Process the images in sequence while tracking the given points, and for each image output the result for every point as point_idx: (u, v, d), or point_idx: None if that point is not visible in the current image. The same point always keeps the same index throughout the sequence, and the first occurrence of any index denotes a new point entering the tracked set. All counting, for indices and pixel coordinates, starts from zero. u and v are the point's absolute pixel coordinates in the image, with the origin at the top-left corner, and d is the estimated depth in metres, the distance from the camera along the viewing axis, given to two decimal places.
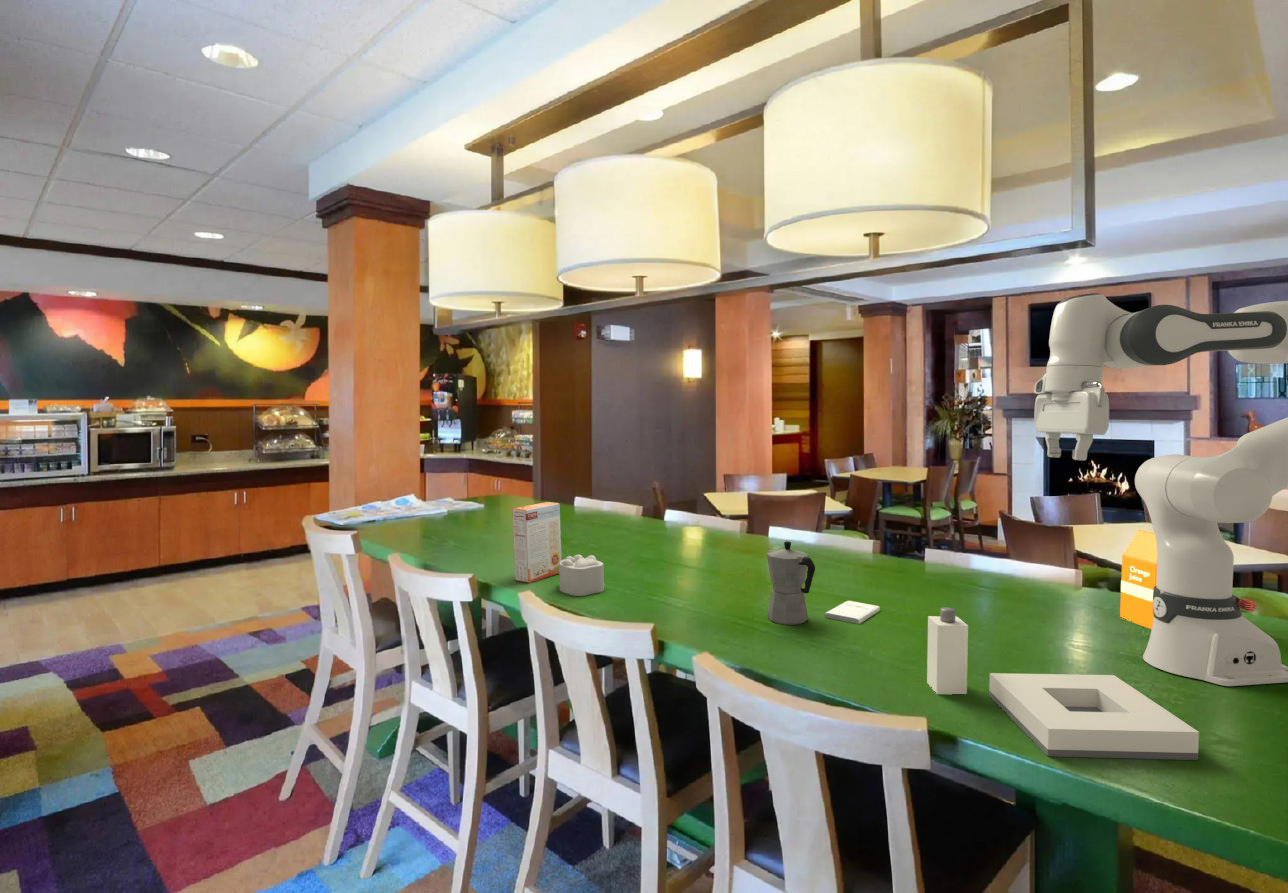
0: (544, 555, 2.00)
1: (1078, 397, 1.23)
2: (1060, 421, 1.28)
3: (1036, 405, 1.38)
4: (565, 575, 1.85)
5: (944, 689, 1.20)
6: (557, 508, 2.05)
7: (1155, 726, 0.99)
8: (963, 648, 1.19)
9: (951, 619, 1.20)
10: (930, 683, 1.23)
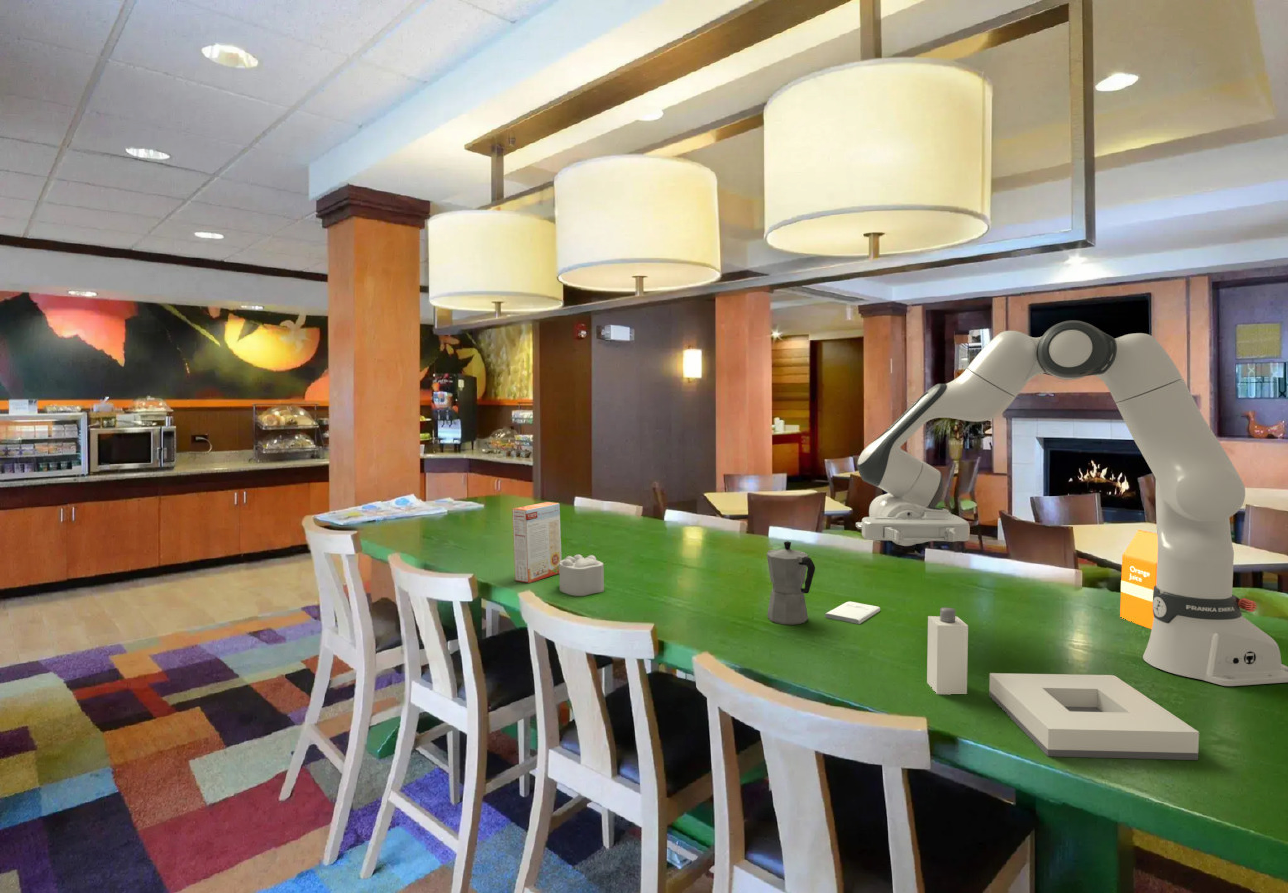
0: (544, 555, 2.00)
1: None
2: None
3: None
4: (565, 575, 1.85)
5: (944, 689, 1.20)
6: (557, 508, 2.05)
7: (1155, 726, 0.99)
8: (963, 648, 1.19)
9: (952, 619, 1.20)
10: (930, 683, 1.23)
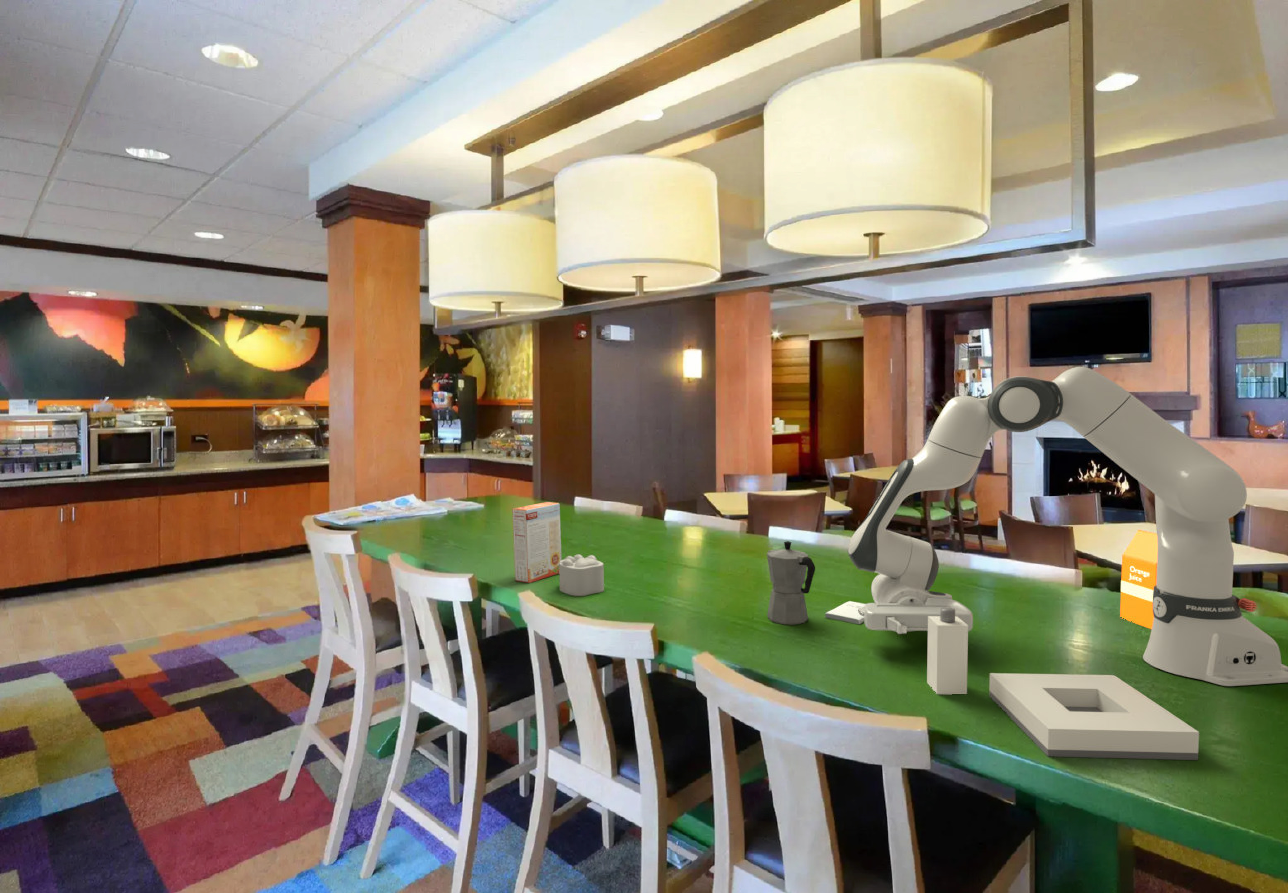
0: (544, 555, 2.00)
1: None
2: None
3: None
4: (565, 574, 1.85)
5: (944, 689, 1.20)
6: (557, 508, 2.05)
7: (1155, 726, 0.99)
8: (963, 648, 1.19)
9: (951, 619, 1.20)
10: (930, 683, 1.23)
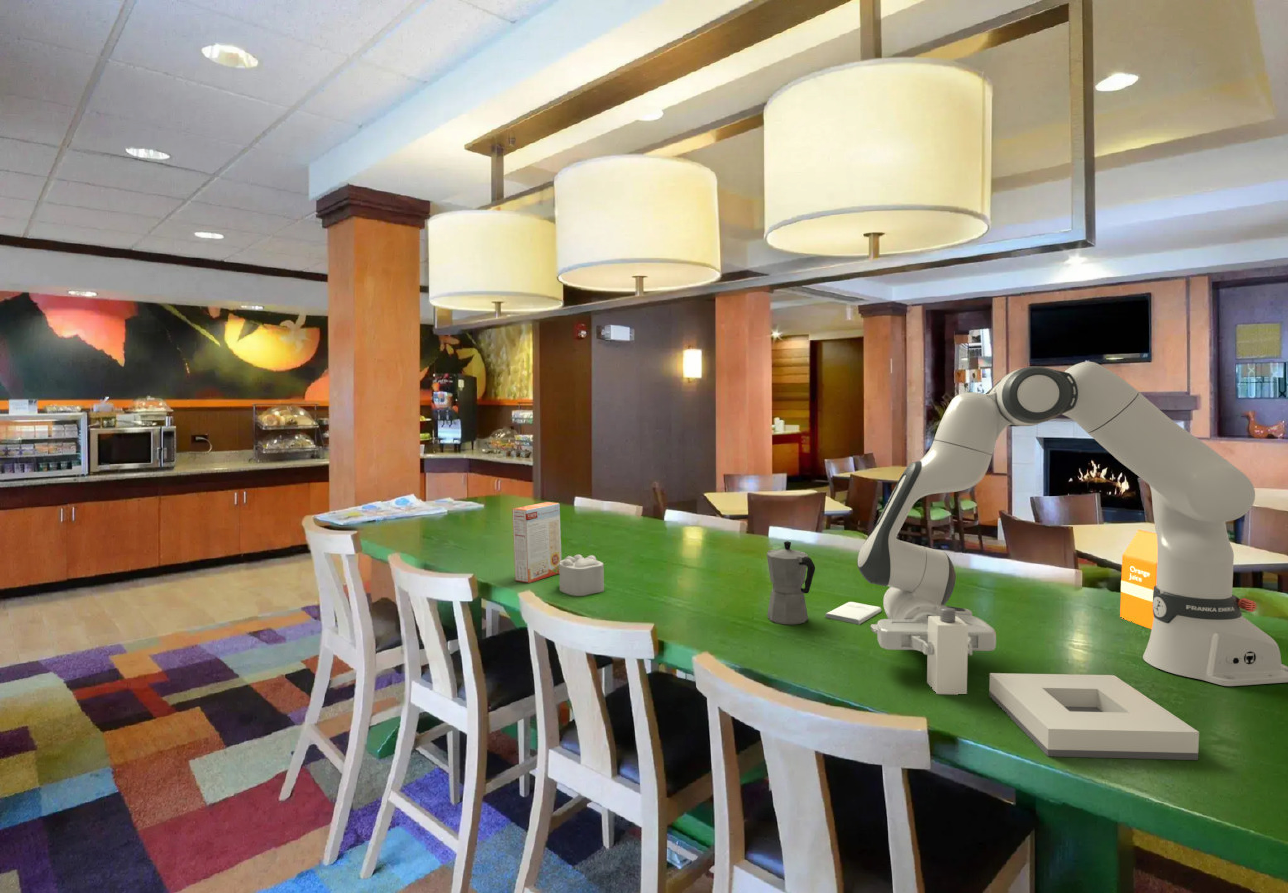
0: (544, 555, 2.00)
1: None
2: None
3: None
4: (565, 575, 1.85)
5: (944, 689, 1.20)
6: (557, 508, 2.05)
7: (1155, 726, 0.99)
8: (963, 648, 1.19)
9: (951, 619, 1.20)
10: (930, 683, 1.23)
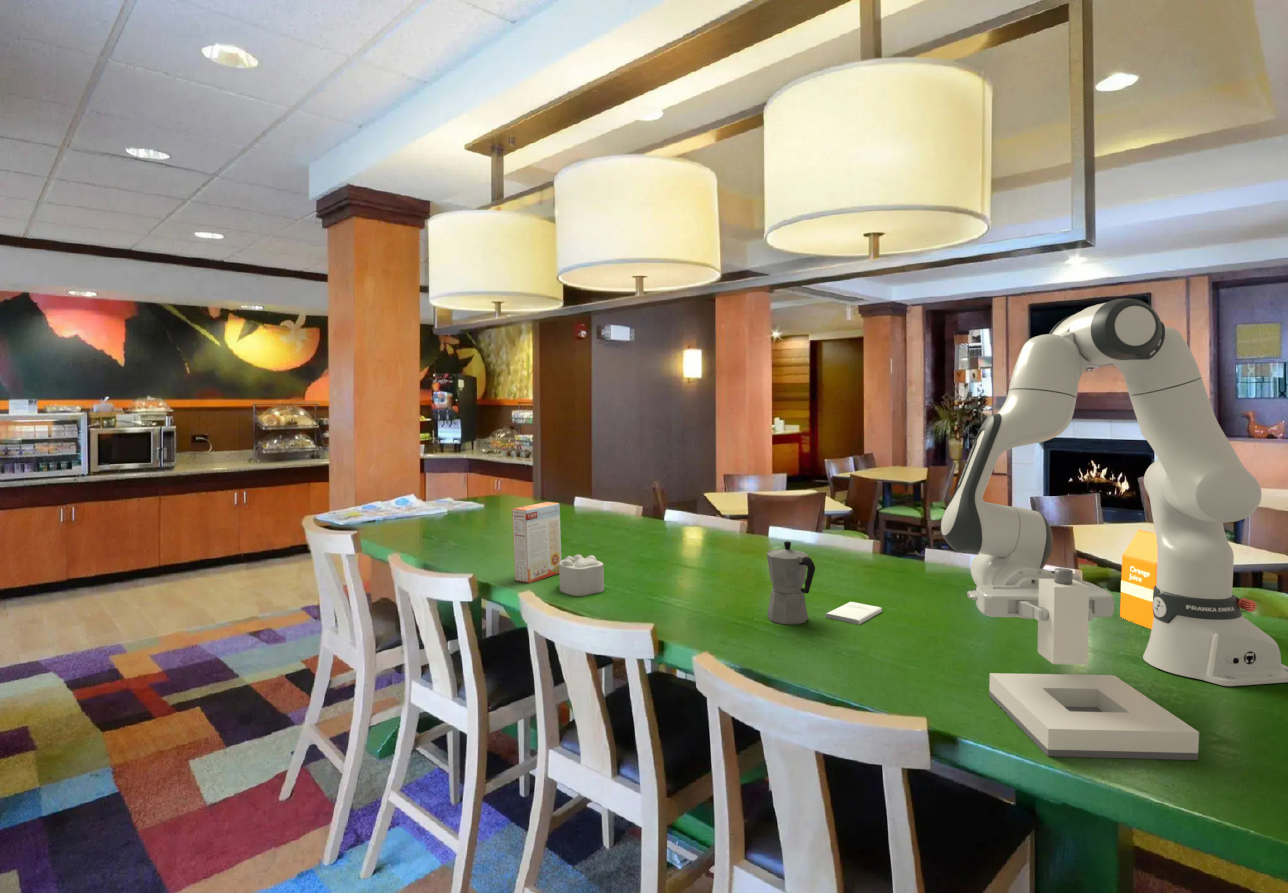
0: (544, 555, 2.00)
1: None
2: None
3: None
4: (565, 575, 1.85)
5: (1062, 658, 1.07)
6: (557, 508, 2.05)
7: (1155, 726, 0.99)
8: (1083, 612, 1.07)
9: (1069, 580, 1.08)
10: (1043, 653, 1.11)
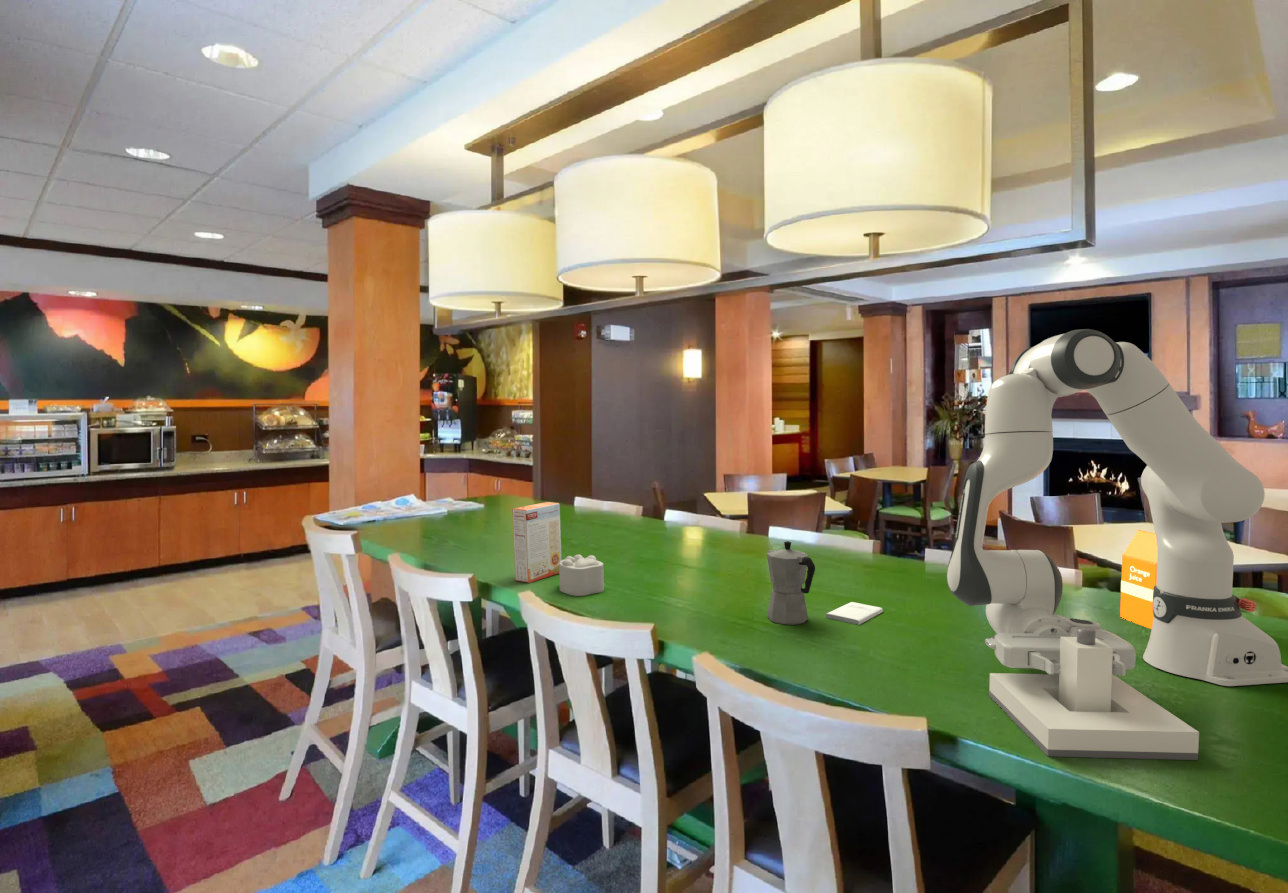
0: (544, 555, 2.00)
1: None
2: None
3: None
4: (565, 575, 1.85)
5: None
6: (557, 508, 2.05)
7: (1155, 726, 0.99)
8: (1107, 674, 1.05)
9: (1092, 641, 1.06)
10: None
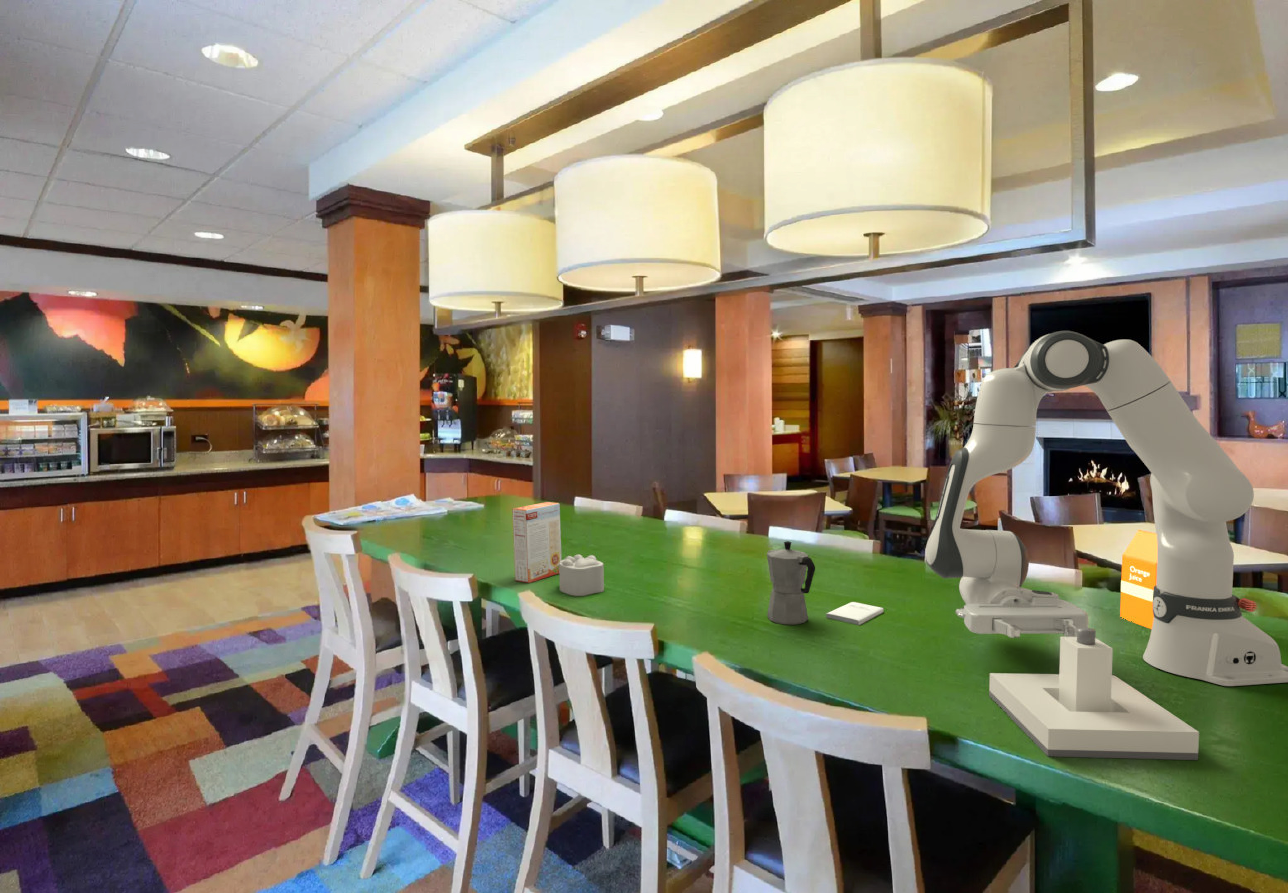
0: (544, 555, 2.00)
1: None
2: None
3: None
4: (565, 575, 1.85)
5: None
6: (557, 508, 2.05)
7: (1155, 726, 0.99)
8: (1107, 674, 1.05)
9: (1092, 641, 1.06)
10: None
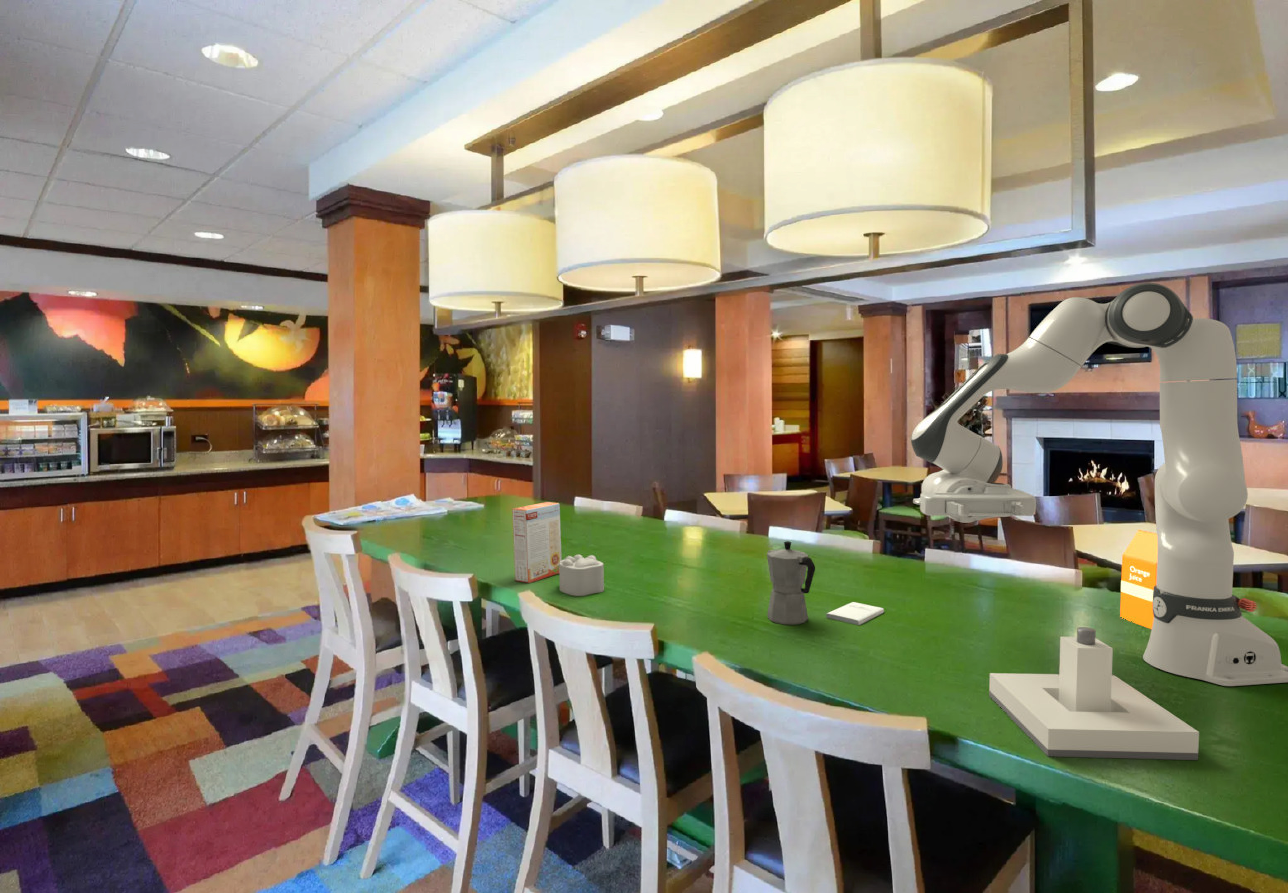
0: (544, 555, 2.00)
1: None
2: None
3: None
4: (565, 575, 1.85)
5: None
6: (557, 508, 2.05)
7: (1155, 726, 0.99)
8: (1107, 674, 1.05)
9: (1092, 641, 1.06)
10: None
